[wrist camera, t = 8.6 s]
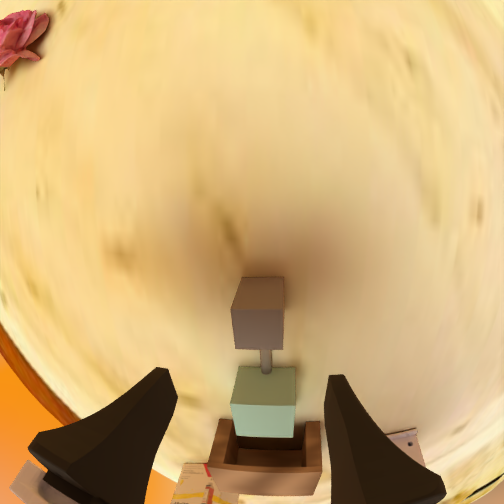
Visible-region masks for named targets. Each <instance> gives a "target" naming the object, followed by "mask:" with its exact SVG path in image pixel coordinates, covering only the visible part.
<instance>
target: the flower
mask: <svg viewBox="0 0 504 504" xmlns="http://www.w3.org/2000/svg"><path fill="white" fill-rule="evenodd" d="M36 14H37V13H36V10H35V11H33V12H32V11H30V10H26V11H24V10H22V11H20V12H16V13H12V14H10V15H8V16H7V17H5V18H4V19H2V20H0V74H1V75H2V76H3V77H4V73H5V69H8V70H9V67H10V66H11V65H12V64H13V63H14V62H15V61H16V60H17V59H18V58H19V57H22V58H27V59H29V60H32V61H38V60H39V59H40V57H39V56H37V55H36V54H35V53H33V52H31V51H29V50H26V47H27V46H28V45H29V44H31V43H32V42H33V41H35V40H36V39H37V38H38V37H39V36H40V35H41V34H42V33H43V32H44V31H45V30H46V28H47V25H48V23H49V17H47V15H46V13H44V14H42V15H41V16H39V17H38V18H37V19H36V20H35V16H36ZM4 91H5V82H4Z"/></svg>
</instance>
